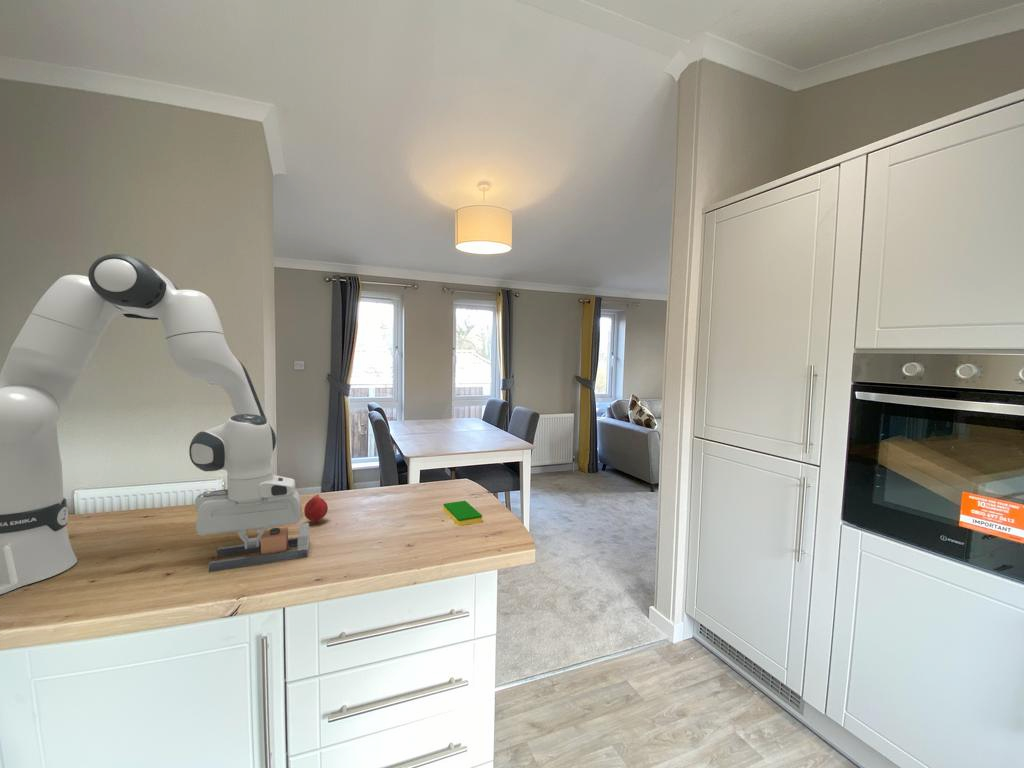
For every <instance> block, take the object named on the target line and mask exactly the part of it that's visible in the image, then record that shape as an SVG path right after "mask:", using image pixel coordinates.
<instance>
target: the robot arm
mask: <svg viewBox="0 0 1024 768" xmlns="http://www.w3.org/2000/svg"><path fill="white" fill-rule="evenodd" d="M87 273H88V274H87V275H88V276H87V275H81V274H68V275H67V274H65V275H64V276H63V275H62V276H61V277H59V278H58V279H57V280H56V281H55V282H54V283H52V285H51V286H50V287H49V288H48V289H47V290H46V292H45V293H44V294H43V295H42V296H41V297H40V299H39V300H38V301H37V303H36V304H35V306H34V308H33V309H32V310H31V312H30V314H29V316H28V318H27V319H26V321H25V323H24V324H23V326H22V328H21V330H20V331H19V333H18V334H17V337H16V338H15V340H14V342H13V343H12V345H11V347H10V348H9V351H8V354H7V357H6V360H5V362H4V365H3V366H2V369H1V371H0V595H2V594H3V595H4V594H5V593H8V592H11V591H13V590H15V589H19V588H20V587H24V586H27V585H30V584H33V583H36V582H41V581H43V580H46V579H49V578H52V577H54V576H56V575H59V574H61V573H64V572H65V571H67V570H69V569H70V568H73V566H74V565H75V564H76V563H78V557H77V556H76V554H75V552H74V549H73V548H72V547H73V546H72V545H71V541H70V538H69V534H68V527H67V525H68V517H69V512H68V505H67V499H66V498H65V497H64V482H63V479H64V478H63V463H62V458H61V453H60V445H59V437H58V427H57V422H58V421H59V419H60V417H61V416H62V414H63V412H64V410H65V409H66V408H67V404H68V403H69V401H70V399H71V397H72V395H73V393H74V391H75V389H76V387H77V386H78V383H79V381H80V378H81V376H82V375H83V372H84V370H85V369H86V367H87V365H88V363H89V361H90V359H91V357H92V356H93V353H94V352H95V351H96V349H97V347H98V344H99V343H100V342H101V339H102V337H103V336H104V333H105V331H106V329H107V327H108V326H109V324H110V323H111V321H112V320H113V319H114V318H115V317H117V316H120V315H123V316H124V317H126V318H129V319H130V318H131V319H143V320H151V321H153V320H154V321H159V323H160V324H161V328H162V332H163V336H164V337H163V338H164V342H165V346H166V351H167V355H168V357H169V359H170V361H171V362H172V364H173V366H174V367H175V368H176V369H178V370H179V371H181V372H182V373H184V374H186V375H188V376H191V377H192V378H196V379H199V380H203V381H206V382H209V383H212V384H214V385H216V386H217V387H219V388H221V389H222V390H223V391H225V393H226V394H227V396H228V398H229V400H230V403H231V405H232V408H233V410H234V412H235V414H234V415H232V416H230V417H229V418H228V419H227V420H226V421H225V422H224V423H222V424H220V425H218V426H215V427H211V428H209V429H204V430H202V431H199V432H197V433H196V434H195V435H194V436H193V438H192V440H190V441H191V442H190V444H189V449H188V450H189V452H188V453H189V458H190V459H189V460H190V461H191V463H192V464H193V465H194V466H195V467H196V468H197V469H199V470H200V471H203V472H217V471H221V470H224V471H226V472H227V475H226V486H227V487H226V489H219V490H212V491H211V490H208V491H207V490H206V491H203V492H202V493H200V494H198V495H197V496H196V498H195V499H194V508H195V510H196V512H197V515H196V521H195V523H196V524H195V531H196V532H195V533H197V534H198V535H199V536H202V537H203V536H209V535H210V536H212V535H219V534H226V533H227V534H228V533H233V532H234V533H235V532H237V534H238V537H239V539H241V541H242V542H243V543H244V547H245V549H249V548H257V547H260V542H261V537H262V535H263V533H264V531H265V530H267V528H276V527H279V526H280V527H283V526H289V525H290V526H291V525H296V524H300V521H301V520H302V517H303V509H302V503H301V497H300V496H301V495H300V493H299V492H298V491H297V490H296V480H295V479H294V478H293V477H292V478H291V477H285V476H282V475H281V476H280V475H276V474H274V469H273V466H272V458H273V454H274V453H273V452H274V451H275V449H276V444H277V436H276V432H275V431H274V429H273V427H272V426H271V424H270V423H269V420H268V419H267V417H266V414H265V413H264V410H263V407H262V405H261V403H260V400H259V398H258V394H257V391H256V389H255V388H254V385H253V382H252V380H251V377H250V375H249V373H248V370H247V369H246V367H245V365H244V364H243V363H242V362H241V361H240V360H238V359H237V358H236V356H235V355H234V354H233V352H232V351H231V349H230V347H229V345H228V343H227V341H226V337H225V333H224V328H223V325H222V323H221V319H220V317H219V314H218V311H217V310H216V306H215V304H214V303H213V301H212V299H211V298H210V297H209V296H208V295H207V294H205V293H204V292H201V291H198V290H195V289H179V288H178V287H177V285H176V284H175V283H174V282H172V281H171V280H169V278H168V277H167V276H166V275H164V274H163V273H162V272H161V271H159V270H158V269H157V268H153V267H151V266H150V265H148V263H146V262H144V261H143V260H141V259H140V258H139V259H138V258H136V257H133V256H132V255H131V256H130V255H127V254H121V253H112V254H106V255H104V256H101V257H99V258H97V259H96V260H95V261H94V262H93V263H92V264H91V265H90V267H89V270H88V272H87ZM248 530H256V533H257V534H258V535H257V537H250V538H249V536H248V535H247V532H248Z"/></svg>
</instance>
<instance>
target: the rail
mask: <svg viewBox="0 0 1024 768" xmlns="http://www.w3.org/2000/svg"><path fill="white" fill-rule="evenodd" d="M309 546H310V522H305V523H299V526H298V533H297V536H295V537H288V548H291V547H297V548H296V549H295V548H294V549H288V550H287V551H280V552H273V553H266V554H261V553H260V552H261V541H260V547H257V548H249V549H245V547H244V544H237V545H229V546H222V547H217V549H216V558H224V557H229V556H230V557H231V556H236V555H243V554H253V553H258V552H259V553H260V554H253V555H248V556H239V557H234V558H233V557H232V558H226V559H219V560H213V561H212V560H211V561H209V563H208V573H211V572H218V571H219V572H220V571H225V570H232V569H237V568H245V567H251V566H258V565H265V564H270V563H276V562H283V561H289V560H291V561H292V560H297V559H303V558H308V557H309Z"/></svg>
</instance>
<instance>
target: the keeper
mask: <svg viewBox="0 0 1024 768" xmlns="http://www.w3.org/2000/svg"><path fill="white" fill-rule="evenodd" d="M288 538H289V527H287V526H286V527H280V528H279V527H271V529H265V531H264V533H263V535H262V537H261V538H260V542H261V551H260V554H266V553H273V552H280V551H287V550H289V547H288Z"/></svg>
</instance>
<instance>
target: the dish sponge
mask: <svg viewBox="0 0 1024 768" xmlns="http://www.w3.org/2000/svg"><path fill="white" fill-rule="evenodd" d="M442 509H443V512H445V514H447V516H448V517H449V519H451V520H452V521H453V522H454V523H455V524H456V526H458V527H462V526H469V525H473V524H475V525H476V524H481V523H482V522H483V515H482V514H481V513H480V512H479V511H478V510H477V509H476V508H474V507H473V506H472V505H471V504H470V503H469V502H468V501H466V500H460V501H459V500H458V501H453V502H452V501H451V502H447V503H443V508H442Z"/></svg>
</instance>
